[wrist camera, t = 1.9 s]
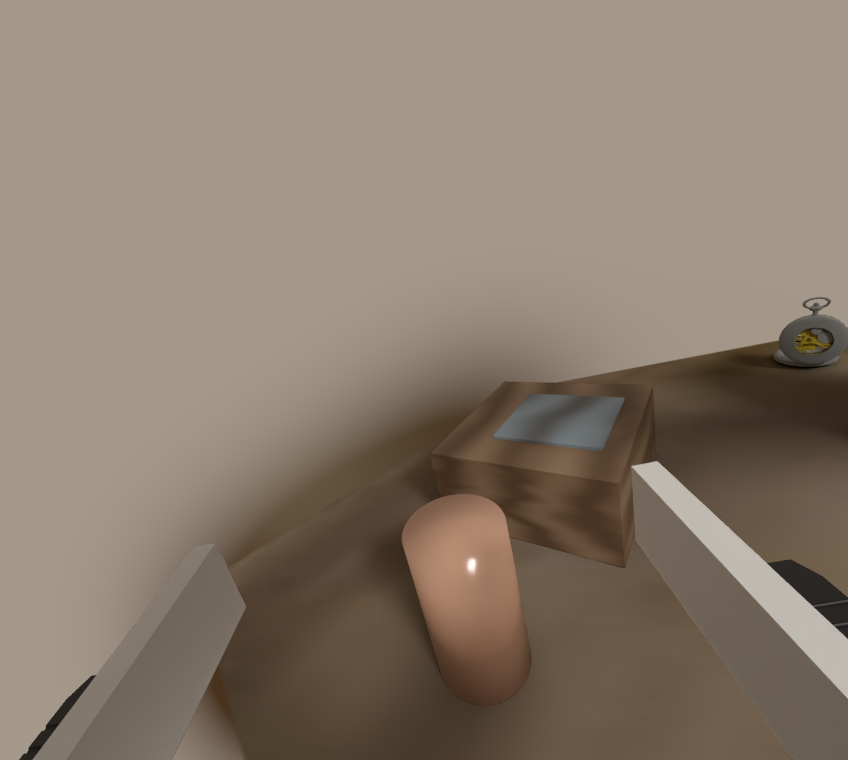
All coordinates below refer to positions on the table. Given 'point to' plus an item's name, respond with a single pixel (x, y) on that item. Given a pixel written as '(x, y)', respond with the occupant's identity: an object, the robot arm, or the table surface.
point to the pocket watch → (812, 339)
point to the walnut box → (555, 462)
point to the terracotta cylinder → (469, 596)
